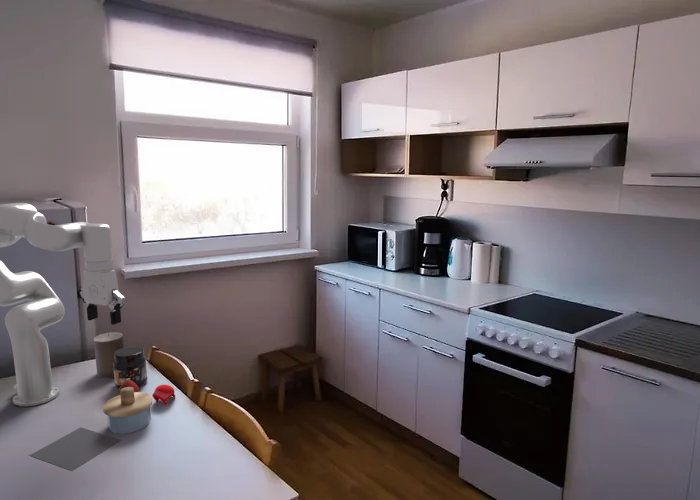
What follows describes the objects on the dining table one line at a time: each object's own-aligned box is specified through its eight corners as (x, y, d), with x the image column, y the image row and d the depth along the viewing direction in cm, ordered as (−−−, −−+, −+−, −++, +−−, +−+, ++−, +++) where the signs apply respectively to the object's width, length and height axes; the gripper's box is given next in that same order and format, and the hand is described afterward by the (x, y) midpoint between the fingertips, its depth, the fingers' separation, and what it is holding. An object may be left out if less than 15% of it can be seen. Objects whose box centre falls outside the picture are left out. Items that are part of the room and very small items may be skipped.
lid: (92, 411, 140) (91, 395, 139) (129, 392, 152) (128, 376, 151) (127, 421, 135) (125, 404, 134) (162, 400, 147) (161, 384, 146)
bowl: (100, 429, 141) (98, 410, 140) (131, 412, 151) (129, 394, 150) (129, 438, 137) (127, 418, 136) (158, 419, 147) (157, 401, 146)
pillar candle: (132, 370, 182) (128, 331, 179) (108, 380, 173) (104, 339, 170) (114, 365, 186) (111, 327, 184) (90, 374, 178) (86, 335, 175)
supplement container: (107, 389, 167) (104, 355, 164) (127, 376, 177) (125, 344, 175) (135, 392, 164) (132, 358, 162) (154, 379, 174) (151, 346, 172)
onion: (132, 407, 154) (130, 383, 153) (115, 405, 155) (113, 382, 154) (143, 398, 160) (141, 375, 158) (127, 397, 161) (125, 374, 160)
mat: (29, 457, 128) (29, 455, 128) (80, 429, 142) (80, 427, 142) (72, 473, 122) (72, 470, 122) (121, 441, 136) (121, 439, 135)
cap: (162, 400, 152) (176, 385, 156) (148, 391, 154) (161, 376, 157) (168, 411, 158) (181, 396, 162) (154, 402, 160) (167, 387, 163)
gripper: (67, 265, 146) (73, 321, 149) (110, 271, 139) (115, 329, 142) (89, 261, 152) (94, 314, 156) (131, 266, 146) (135, 321, 149)
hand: (104, 321), depth 149 cm, fingers open, 9 cm apart
